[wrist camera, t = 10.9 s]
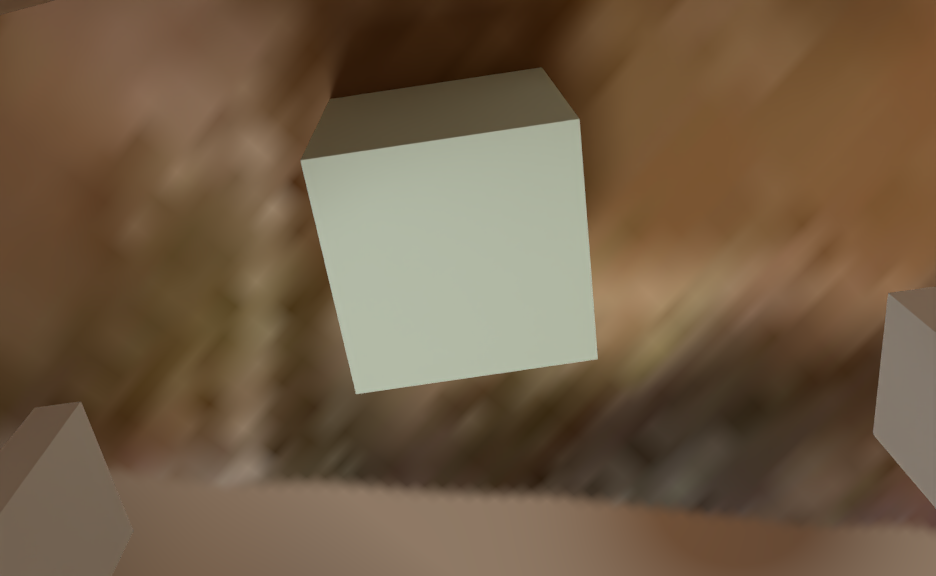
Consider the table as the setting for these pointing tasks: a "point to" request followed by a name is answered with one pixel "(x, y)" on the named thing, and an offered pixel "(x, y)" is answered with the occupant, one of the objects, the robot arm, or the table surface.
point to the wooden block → (18, 4)
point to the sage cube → (454, 229)
